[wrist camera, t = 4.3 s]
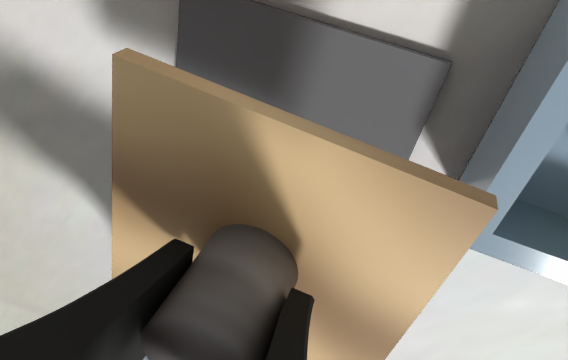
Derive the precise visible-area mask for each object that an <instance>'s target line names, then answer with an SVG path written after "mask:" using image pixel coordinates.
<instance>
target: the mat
mask: <svg viewBox="0 0 568 360" xmlns="http://www.w3.org/2000/svg"><path fill="white" fill-rule="evenodd" d="M451 65H452V62H451V61H448V60H445V59H442V58H438V57H435V56H432V55H428V54H425V53H422V52H419V51H415V50H412V49H409V48H405V47H402V46H399V45H396V44H392V43H389V42H386V41H382V40H379V39H376V38H373V37H369V36H366V35H363V34H359V33H356V32H353V31H350V30H346V29H343V28H340V27H336V26H333V25H330V24H327V23H323V22H320V21H317V20H313V19H310V18H307V17H304V16H300V15H297V14H294V13H290V12H287V11H284V10H281V9H277V8H274V7H271V6H267V5H264V4H261V3H258V2H254V1H251V0H180V4H179V24H178V44H177V64H176V68H178V69H181V70H183V71H186V72H188V73H191V74H193V75H196V76H198V77H201V78H203V79H206V80H208V81H211V82H213V83H216V84H218V85H221V86H224V87H226V88H229V89H231V90H234V91H236V92H239V93H241V94H244V95H246V96H249V97H251V98H254V99H256V100H259V101H261V102H264V103H266V104H269V105H271V106H274V107H276V108H279V109H281V110H284V111H286V112H289V113H291V114H294V115H296V116H299V117H301V118H304V119H306V120H309V121H311V122H314V123H316V124H319V125H321V126H324V127H326V128H329V129H331V130H334V131H336V132H339V133H341V134H344V135H346V136H349V137H351V138H354V139H356V140H359V141H361V142H364V143H366V144H369V145H371V146H374V147H376V148H379V149H381V150H384V151H386V152H389V153H391V154H394V155H396V156H399V157H401V158H404V159H406V160H409V157H410V155H411V153H412V151H413V149H414V146H415V144H416V142H417V140H418V138H419V135H420V133H421V131H422V129H423V127H424V124H425V122H426V120H427V118H428V116H429V113H430V111H431V109H432V107H433V105H434V102H435V100H436V98H437V96H438V94H439V91H440V89H441V87H442V85H443V82H444V80H445V78H446V76H447V74H448V71H449V69H450V67H451Z"/></svg>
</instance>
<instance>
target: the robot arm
mask: <svg viewBox="0 0 568 360" xmlns="http://www.w3.org/2000/svg"><path fill="white" fill-rule="evenodd" d="M193 253H194V246H192V245H190V244H188V243H185V242H183V241H181V240H178V239H173V240H171V241H170V242H168V243H167V244H165V245H164V246H162V247H161V248H160V249H158V250H157V251H155V252H154V253H152V254H151V255H149V256H148V257H146V258H145V259H143V260H142V261H140V262H139V263H137V264H136V265H134V266H133V267H131V268H130V269H128V270H126V271H125V272H123V273H122V274H120V275H118V276H117V277H115V278H114V279H112V280H110V281H109V282H107V283H105V284H104V285H102V286H100V287H98V288H97V289H95V290H93V291H91V292H89V293H88V294H86V295H84V296H82V297H81V298H79V299H77V300H75V301H73V302H71V303H70V304H68V305H66V306H64V307H62V308H60V309H58V310H56V311H54V312H52V313H50V314H48V315H46V316H43V317H41V318H39V319H37V320H35V321H33V322H31V323H28V324H26V325H24V326H21V327H19V328H17V329H15V330H12V331H10V332H8V333H5V334H3V335H1V336H0V360H149V359H148V358H147V356H146V355H145V353H144V350H143V348H142V344H141V333H142V331H143V329H144V327H145V326H146V325H147V323H148V322H149V321H150V319H151V318H152V317H153V315H154V314H155V312H156V311H157V310H158V308H159V307H160V306H161V304H162V303H163V302H164V300H165V299H166V298H167V296H168V295H169V293H170V292H171V291H172V289H173V288H174V287H175V285H176V284H177V283H178V281H179V280H180V279H181V277H182V276H183V274H184V273H185V272H186V270H187V269H188V268H189V266H190V265H191V264H192V262H193ZM314 301H315V300H314V298H313V296H311V295H309V294H307V293H304V292H302V291H299V290H297V289H295V288H291V290H290V292H289V294H288V297H287V299H286V301H285V303H284V305H283V308H282V310H281V313H280V316H279V319H278V322H277V325H276V328H275V331H274V334H273V337H272V340H271V344H270V347H269V350H268V353H267V355H266V358H265V360H307V350H308V337H309V327H310V320H311V314H312V309H313V304H314Z"/></svg>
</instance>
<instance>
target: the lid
mask: <svg viewBox="0 0 568 360" xmlns="http://www.w3.org/2000/svg"><path fill="white" fill-rule="evenodd" d="M497 211H498V204H497V198H496V195H494V194H491V193H489V192H486V191H484V190H481V189H479V188H476V187H474V186H471V185H469V184H466V183H464V182H461V181H459V180H456V179H454V178H451V177H449V176H446V175H444V174H441V173H439V172H436V171H434V170H431V169H429V168H426V167H424V166H421V165H419V164H416V163H414V162H411V161H409V160H406V159H404V158H401V157H399V156H396V155H394V154H391V153H389V152H386V151H384V150H381V149H379V148H376V147H374V146H371V145H369V144H366V143H364V142H361V141H359V140H356V139H354V138H351V137H349V136H346V135H344V134H341V133H339V132H336V131H334V130H331V129H329V128H326V127H324V126H321V125H319V124H316V123H314V122H311V121H309V120H306V119H304V118H301V117H299V116H296V115H294V114H291V113H289V112H286V111H284V110H281V109H279V108H276V107H274V106H271V105H269V104H266V103H264V102H261V101H259V100H256V99H254V98H251V97H249V96H246V95H244V94H241V93H239V92H236V91H234V90H231V89H229V88H226V87H224V86H221V85H218V84H216V83H213V82H211V81H208V80H206V79H203V78H201V77H198V76H196V75H193V74H191V73H188V72H186V71H183V70H181V69H178V68H176V67H173V66H171V65H168V64H166V63H163V62H161V61H158V60H156V59H153V58H151V57H148V56H146V55H143V54H141V53H138V52H136V51H133V50H131V49H128V48H126V49H123V50H121V51H119V52H116V53H114V54H112V279H114V278H115V277H117V276H118V275H120V274H122V273H123V272H125V271H126V270H128V269H130V268H131V267H133V266H134V265H136V264H137V263H139V262H140V261H142V260H143V259H145V258H146V257H148V256H149V255H151V254H152V253H154V252H155V251H157V250H158V249H160V248H161V247H162V246H164V245H165V244H167V243H168V242H170V241H171V240H173V239H178V240H181V241H183V242H185V243H188V244H190V245H192V246H194V253H193V262H192V264H191V265H190V266H189V268H188V269H187V270H186V272H185V273H184V274H183V276H182V277H181V279H180V280H179V281H178V283H177V284H176V285H175V287H174V288H173V289H172V291H171V292H170V293H169V295H168V296H167V298H166V299H165V300H164V302H163V303H162V304H161V306H160V307H159V308H158V310H157V311H156V312H155V314H154V315H153V317H152V318H151V319H150V321H149V322H148V323H147V325H146V326H145V327H144V329H143V331H142V333H141V344H142V348H143V350H144V353H145V355H146V356H147V358H148V359H149V360H265V358H266V355H267V353H268V350H269V347H270V344H271V340H272V337H273V334H274V331H275V328H276V325H277V322H278V319H279V316H280V313H281V310H282V308H283V305H284V303H285V301H286V299H287V297H288V294H289V292H290V290H291V288H295V289H297V290H299V291H302V292H304V293H307V294H309V295H311V296H313V298H314V300H315V301H314V304H313V309H312V314H311V320H310V327H309V337H308V350H307V360H385V359H386V357H387V356H388V355H389V353H390V352H391V351H392V349H393V348H394V347H395V345H396V344H397V343H398V341H399V340H400V339H401V338H402V336H403V335H404V334H405V332H406V331H407V330H408V328H409V327H410V326H411V324H412V323H413V322H414V320H415V319H416V318H417V316H418V315H419V314H420V313H421V311H422V310H423V309H424V307H425V306H426V305H427V303H428V302H429V301H430V299H431V298H432V297H433V295H434V294H435V293H436V291H437V290H438V289H439V287H440V286H441V285H442V284H443V282H444V281H445V280H446V278H447V277H448V276H449V274H450V273H451V272H452V270H453V269H454V268H455V266H456V265H457V264H458V262H459V261H460V260H461V259H462V257H463V256H464V255H465V253H466V252H467V251H468V249H469V248H470V247H471V245H472V244H473V243H474V241H475V240H476V239H477V237H478V236H479V235H480V234H481V232H482V231H483V230H484V228H485V227H486V226H487V224H488V223H489V222H490V220H491V219H492V218H493V216H494V215H495V214H496V212H497Z"/></svg>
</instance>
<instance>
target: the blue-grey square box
mask: <svg viewBox="0 0 568 360" xmlns="http://www.w3.org/2000/svg"><path fill="white" fill-rule="evenodd" d="M459 181H461V182H464V183H466V184H469V185H471V186H474V187H476V188H479V189H481V190H484V191H486V192H489V193H491V194H494V195H496V198H497V204H498V211H497V212H496V214H495V215H494V216H493V218H492V219H491V220H490V222H489V223H488V224H487V226H486V227H485V228H484V230H483V231H482V232H481V234H480V235H479V236H478V237H477V239H476V240H475V241H474V243H473V244H472V245H471V247H470V248H469V249H472V250H475V251H477V252H480V253H483V254H485V255H488V256H491V257H493V258H496V259H499V260H502V261H504V262H507V263H510V264H512V265H515V266H518V267H520V268H523V269H526V270H529V271H531V272H534V273H537V274H539V275H542V276H545V277H548V278H550V279H553V280H556V281H558V282H561V283H564V284H566V285H568V0H559V2H558V4H557V6H556V7H555V9H554V11H553V13H552V14H551V16H550V18H549V20H548V22H547V23H546V25H545V27H544V29H543V31H542V32H541V34H540V36H539V38H538V40H537V41H536V43H535V45H534V47H533V48H532V50H531V52H530V54H529V56H528V57H527V59H526V61H525V63H524V65H523V66H522V68H521V70H520V72H519V74H518V75H517V77H516V79H515V81H514V82H513V84H512V86H511V88H510V90H509V91H508V93H507V95H506V97H505V99H504V100H503V102H502V104H501V106H500V108H499V109H498V111H497V113H496V115H495V116H494V118H493V120H492V122H491V124H490V125H489V127H488V129H487V131H486V133H485V134H484V136H483V138H482V140H481V142H480V143H479V145H478V147H477V149H476V150H475V152H474V154H473V156H472V158H471V159H470V161H469V163H468V165H467V167H466V168H465V170H464V172H463V174H462V176H461V177H460V179H459Z"/></svg>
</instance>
